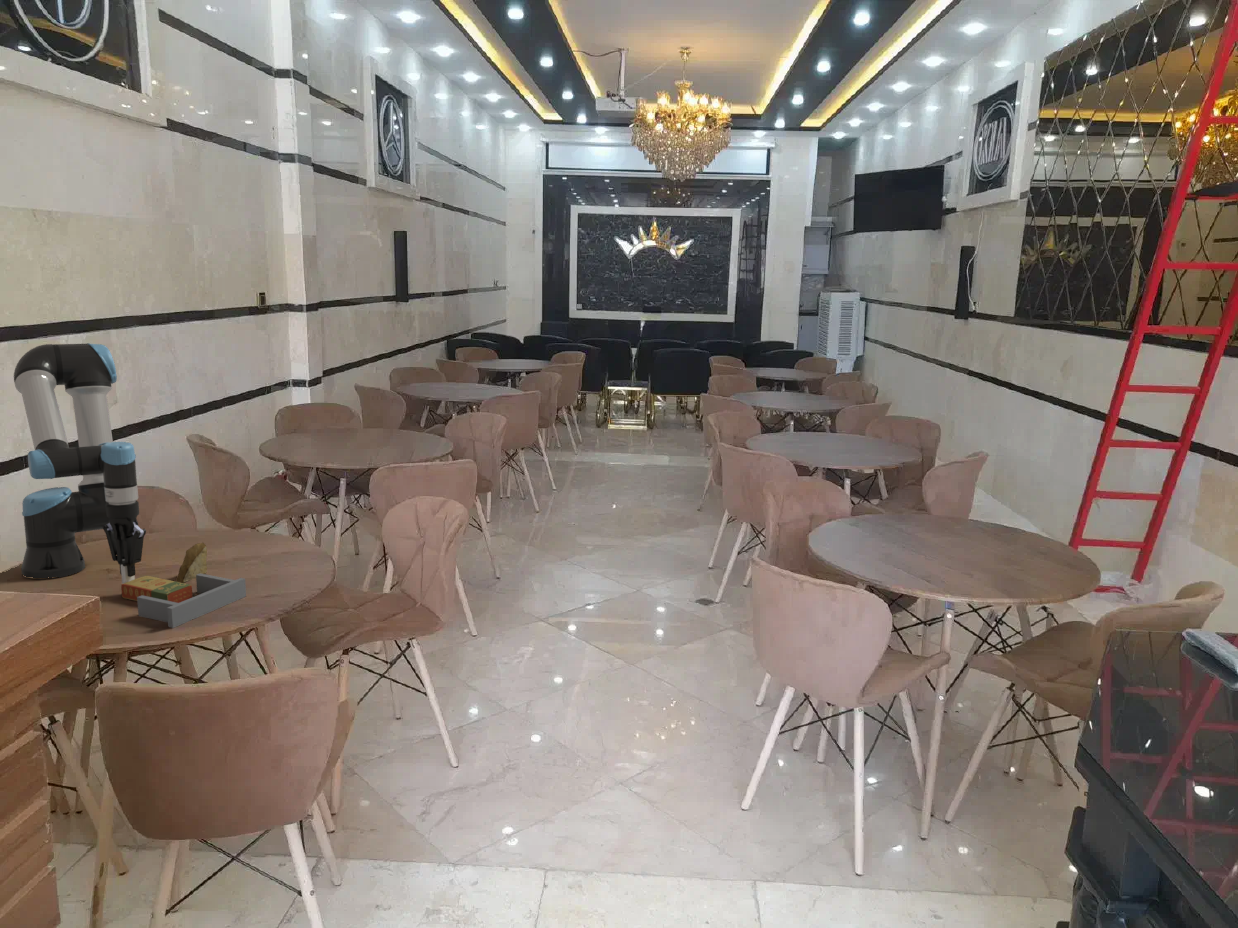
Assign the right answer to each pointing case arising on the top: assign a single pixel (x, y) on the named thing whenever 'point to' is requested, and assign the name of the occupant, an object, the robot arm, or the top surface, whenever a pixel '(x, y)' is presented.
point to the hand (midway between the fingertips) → (128, 586)
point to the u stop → (193, 600)
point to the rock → (193, 563)
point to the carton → (156, 589)
